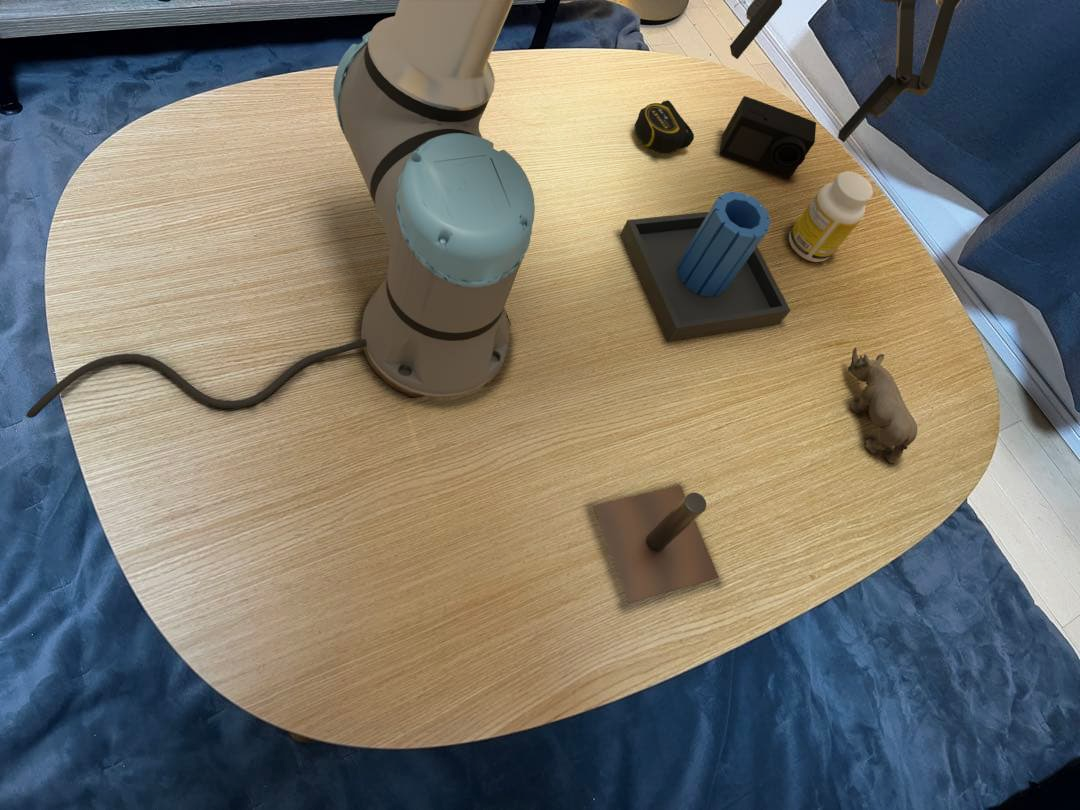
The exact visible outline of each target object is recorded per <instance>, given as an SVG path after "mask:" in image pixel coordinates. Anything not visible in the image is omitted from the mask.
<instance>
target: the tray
mask: <svg viewBox="0 0 1080 810" xmlns="http://www.w3.org/2000/svg"><path fill="white" fill-rule="evenodd" d="M708 213H709V211H702V212H693V213H683V214H673V215H663V216H652V217H643V218H634V219H627V220H626V221H625V224H624V226H623V228H622V229H621V232H620V235H619V236H620V238H621V240H622V242H623V244H624V247H625V250H626V252H627V254H628V256H629V259H630V261H631V262H632V265H633V268H634V270H635V272H636V274H637V277H638V278H639V281H640V282H641V285H642V288H643V291H644V292H645V294H646V296H647V299H648V301H649V303H650V306H651V308H652V310H653V312H654V315H655V317H656V320H657V321H658V323H659V326H660V329H661V330H662V333H663V335H664V337H665V339H666V341H667V342H674V341H680V340H681V341H682V340H686V339H687V340H688V339H692V338H693V339H694V338H698V337H699V338H700V337H704V336H705V337H706V336H712V335H717V334H718V335H719V334H722V333H729V332H736V331H742V330H749V329H754V328H760V327H766V326H773V325H778V324H780V323H782V321H783V320H784V319H785V318H786V317H787V316H788V315H789V313H790V312H792V311H791V310H792V309H790V306H789V304H788V302H787V301H786V298H785V297H784V295H783V293H782V291H781V289H780V286H778V283H777V281H776V280H775V278H774V276H773V274H772V272H771V270H770V268H769V266H768V264H767V263H766V261H765V259H764V257H763V254H762V253H761V251H760V249H759V247H758V246H757V247H756V248H755V250H754V251H753V253H752V254H751V255H750V257H749V258H748V260H747V261H746V262H745V264H744V265H743V267H742V268H741V269H740V271H739V272H738V274H737V275H736V276H735V278H734V279H733V281H732V282H731V283H730V285H729V286H728V288H727V289H726V290H725V292H723V293H721V294H719V295H717V296H716V297H715V296H714V295H713V297H707V296H700V295H699V291H698V293H697V294H695V293H694V292H692V291H691V290H690V289H688V288H687V287H686V286H685V284H686V283H682V281H681V279H680V277H679V275H678V270H677V268H678V265H679V261H680V259H681V257H682V256H683V254H684V252H685V251H686V249H687V247H688V246H689V244H690V242H691V241H692V239H693V237H694V236H695V234H696V233H697V231H698V229H699V228H700V226H701V224H702V223H703V221H704V219H705V218H706V216H707V214H708Z"/></svg>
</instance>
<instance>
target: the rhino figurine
mask: <svg viewBox="0 0 1080 810" xmlns="http://www.w3.org/2000/svg"><path fill="white" fill-rule="evenodd" d="M884 358H885V354H884V353H880V354H878V355H877V356H876V358H875V359H871V360H870V359H869V357H868V356H867V354H863V355H860V356H859V357H858V353H857V346H855V347H854V348H853V349H852V355H851V361H850V365H848V367H847V371H848V373H849V374H851V376H853V377H854V379H856V380H857V381H859V382H861V383H865V387H864V388H863V389H862V391H861V394H860V396H859V401H851V402H850V403H849V408H850V410H851V411H853V413H857V414H860V413H862V412H863V410H864V409H866V408H867V407H868V406H869V407H868V408H867V412H868V414H869V419H870V420H871V422H872V423H873V424H874V425H875V426H876V427H877V428H878V429H880V430H879V433H878V439H875V440H874V439H870V438H868V439H866V440H865V442H864V444H865V445H864V447H865V449H866V450H868V451H869V452H870V453H874V454H875V453H877V452H878V451H884V450H886V449H887V447H888V448H889V447H893V450H888V451H885V453H884V457H885V459H886V460H887V462H889V463H890V464H895V463H896V462H897V460H898V459H900V458H901V457H902V455H903V452H904V450H908V447H909V446H910V445H911V444H912V443H913V442H914V441H915V440H916V438H917V435H918V425H917V422H916V420H915V418H914V417H913V415H912V413H911V412H910V411H909V410H908V409H909V408H907V405H906V403H905V401H904V399H903V397H902V394H901V392H900V389H899V388H898V385H897V383H896V381H895V379H894V377H893V375H892V374H891V373H890V371H889V370H887V369H886V368H885V367H884V366H883V365H882V364H881V363H882V362H883V361H884Z"/></svg>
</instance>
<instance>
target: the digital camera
mask: <svg viewBox="0 0 1080 810" xmlns="http://www.w3.org/2000/svg"><path fill="white" fill-rule="evenodd" d="M816 129H817V122H816V121H814V120H811V119H809V118H806V117H804V116H801V115H798V114H796V113H792V112H791V111H787V110H785V109H782V108H780V107H776V106H774V105H771V104H769V103H765V102H763V101H760V100H757V99H754V98H751V97H749V96H746V95H743V97H742V99H740V102H739V104H738V106H737V107H736V109H735V111H734V112H733V114H732V116H731V118H730V120H729V121H728V124H727V125H726V128H725V129H724V131H723V133H722V135H721V142H720V148H719V155H720V156H722V157H724V158H728V159H731V160H733V161H736V162H738V163H741V164H744V165H747V166H749V167H752V168H755V169H757V170H760V171H763V172H766V173H769V174H772V175H774V176H778V177H780V178H783V179H786V180H791V178H792V177H793V175H794V173H795V172H796V171H797V169H798V168H799V166H800V165H802V164H803V163H804V162H805V159H806V157H807V155H808V153H809V152H810V150H811V149H812V147H813V146H814V144H815V143H816V131H817V130H816Z"/></svg>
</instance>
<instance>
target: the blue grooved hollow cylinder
mask: <svg viewBox="0 0 1080 810" xmlns="http://www.w3.org/2000/svg"><path fill="white" fill-rule="evenodd" d="M708 212H709V213H708V214H707V216H706V218H705V219H704V221H703V223H702V224H701V226H700V228H699V229H698V231H697V233H696V234H695V236H694V237H693V239H692V241H691V242H690V244H689V246H688V247H687V249H686V251H685V252H684V254H683V256H682V257H681V259H680V261H679V265H678V268H677V270H678V275H679V277H680V279H681V281H682V283H686V284H685V286H686V287H687V288H688V289H690V290H691V291H692V292H694V293H695V294H697V293H698V291H699V295H700V296H707V297H713V295H714V296H715V297H716V296H717V295H719V294H721V293H723V292H725V290H726V289H727V288H728V286H729V285H730V283H731V282H732V281H733V279H734V278H735V276H736V275H737V274H738V272H739V271H740V269H741V268H742V267H743V265H744V264H745V262H746V261H747V260H748V258H749V257H750V255H751V254H752V253H753V251H754V250H755V248H756V247H758V246H759V245H760V243H761V242H762V240H763V239H764V237H766V234H767V233H768V232H769V229H770V226H771V216H770V214H769V212H768V211H767V209H766V206H765V205H762V202H761V201H759V200H758V199H756V197H754V196H752V195H750V194H748V195H747V193H746V192H741V191H734V190H732V191H731V190H729V191H727V192H724V193H723V194H720V195H718V197H717V198H716V200H715V201H714V203H713V204H712V206H711V208H710V209H709V211H708Z"/></svg>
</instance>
